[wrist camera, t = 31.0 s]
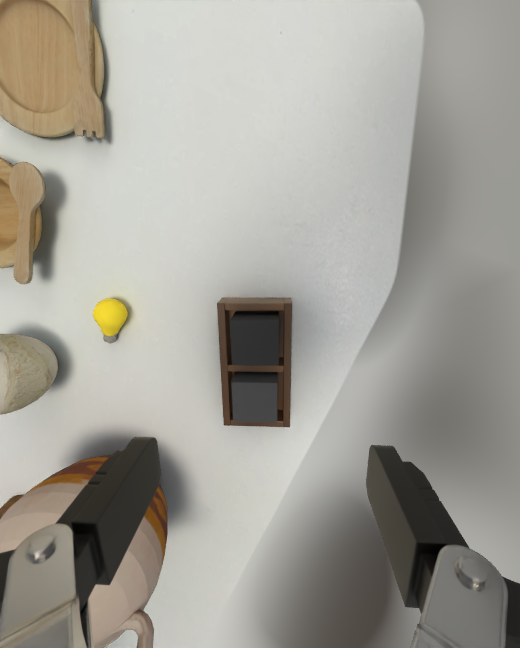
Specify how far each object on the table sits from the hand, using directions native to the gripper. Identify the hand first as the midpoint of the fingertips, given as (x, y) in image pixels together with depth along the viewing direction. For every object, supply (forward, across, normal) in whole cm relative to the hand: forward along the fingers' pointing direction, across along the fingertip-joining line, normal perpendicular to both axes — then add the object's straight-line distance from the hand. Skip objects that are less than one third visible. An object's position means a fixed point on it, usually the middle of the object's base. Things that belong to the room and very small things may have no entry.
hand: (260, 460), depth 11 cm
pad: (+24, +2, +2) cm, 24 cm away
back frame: (+24, +2, +6) cm, 25 cm away
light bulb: (+24, +19, +1) cm, 31 cm away
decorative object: (+24, +30, +6) cm, 39 cm away
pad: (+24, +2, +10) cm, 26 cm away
